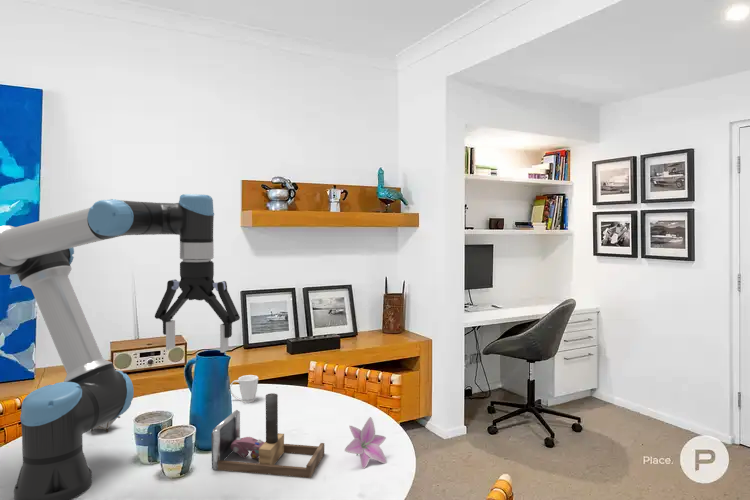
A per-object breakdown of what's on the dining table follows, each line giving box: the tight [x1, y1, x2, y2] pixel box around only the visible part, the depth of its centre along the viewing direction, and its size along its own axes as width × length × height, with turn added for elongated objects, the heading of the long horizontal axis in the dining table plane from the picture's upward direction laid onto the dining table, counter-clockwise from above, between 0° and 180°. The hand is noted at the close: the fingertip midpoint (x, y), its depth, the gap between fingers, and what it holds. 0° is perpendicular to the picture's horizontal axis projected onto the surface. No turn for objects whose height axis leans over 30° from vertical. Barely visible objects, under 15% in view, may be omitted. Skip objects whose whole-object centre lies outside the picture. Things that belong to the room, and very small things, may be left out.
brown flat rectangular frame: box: [217, 441, 325, 479], centre depth 132 cm, size 13×24×3 cm, turn 81°
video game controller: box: [230, 436, 265, 460], centre depth 134 cm, size 10×5×7 cm, turn 76°
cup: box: [230, 374, 259, 404], centre depth 177 cm, size 7×10×8 cm
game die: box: [90, 415, 121, 433], centre depth 152 cm, size 9×8×10 cm
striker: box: [258, 392, 285, 465], centre depth 131 cm, size 10×3×17 cm, turn 171°
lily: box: [344, 416, 387, 470], centre depth 133 cm, size 12×12×10 cm
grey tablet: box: [210, 409, 241, 471], centre depth 133 cm, size 14×2×11 cm, turn 171°
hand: (197, 349), depth 121 cm, fingers open, 13 cm apart
